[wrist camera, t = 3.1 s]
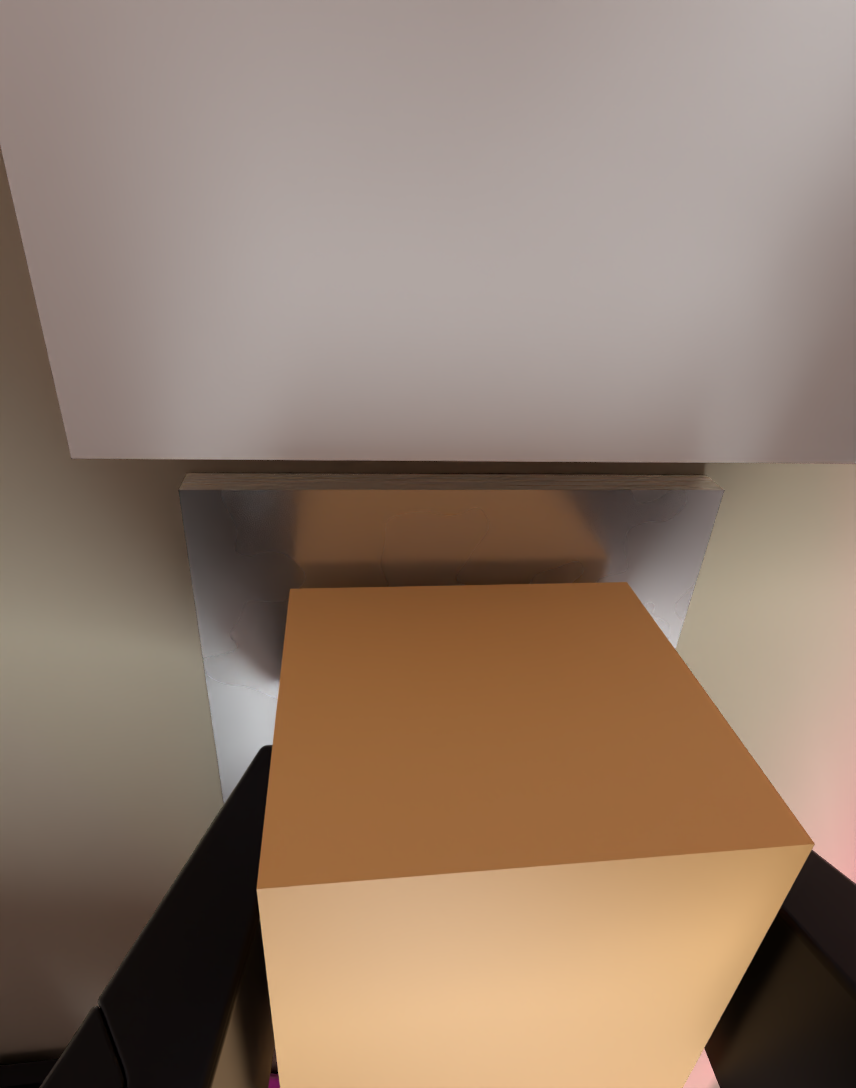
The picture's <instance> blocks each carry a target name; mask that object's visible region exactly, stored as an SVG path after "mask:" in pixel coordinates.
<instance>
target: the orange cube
mask: <svg viewBox="0 0 856 1088" xmlns="http://www.w3.org/2000/svg"><path fill="white" fill-rule="evenodd" d="M813 846H814V842H813V841H812V839H811V838H810V837H809V835H808V834H807V832H806V831H805V830H804V828H803V827H802V826H801V824H800V823H799V821H798V820H797V819H796V817H795V816H794V814H793V813H792V812H791V810H790V809H789V807H788V806H787V805H786V803H785V802H784V800H783V799H782V798H781V796H780V795H779V793H778V792H777V791H776V789H775V788H774V786H773V785H772V784H771V782H770V781H769V780H768V778H767V777H766V775H765V774H764V773H763V771H762V770H761V768H760V767H759V766H758V764H757V763H756V761H755V760H754V759H753V757H752V756H751V754H750V753H749V752H748V750H747V749H746V747H745V746H744V745H743V743H742V742H741V740H740V739H739V738H738V736H737V735H736V733H735V732H734V731H733V729H732V728H731V727H730V725H729V724H728V722H727V721H726V720H725V718H724V717H723V715H722V714H721V713H720V711H719V710H718V708H717V707H716V706H715V704H714V703H713V701H712V700H711V699H710V697H709V696H708V694H707V693H706V692H705V690H704V689H703V687H702V686H701V685H700V683H699V682H698V681H697V679H696V678H695V676H694V675H693V674H692V672H691V671H690V669H689V668H688V667H687V665H686V664H685V662H684V661H683V660H682V658H681V657H680V655H679V654H678V653H677V651H676V650H675V648H674V647H673V646H672V644H671V643H670V641H669V640H668V639H667V637H666V636H665V635H664V633H663V632H662V630H661V629H660V628H659V626H658V625H657V623H656V622H655V621H654V619H653V618H652V616H651V615H650V614H649V612H648V611H647V609H646V608H645V607H644V605H643V604H642V602H641V601H640V600H639V598H638V597H637V595H636V594H635V593H634V591H633V590H632V588H631V587H630V586H629V584H628V583H627V582H605V583H555V584H505V585H454V586H404V587H353V588H303V589H290V593H289V602H288V611H287V620H286V629H285V638H284V647H283V656H282V665H281V674H280V683H279V692H278V701H277V710H276V719H275V728H274V737H273V746H272V755H271V764H270V773H269V782H268V791H267V800H266V809H265V818H264V827H263V836H262V845H261V854H260V863H259V872H258V881H257V897H258V906H259V914H260V922H261V931H262V939H263V948H264V956H265V964H266V973H267V981H268V990H269V998H270V1007H271V1015H272V1023H273V1032H274V1040H275V1049H276V1057H277V1066H278V1074H279V1082H280V1088H683V1086H684V1084H685V1082H686V1081H687V1079H688V1077H689V1075H690V1073H691V1071H692V1070H693V1068H694V1066H695V1064H696V1062H697V1060H698V1058H699V1057H700V1055H701V1053H702V1051H703V1049H704V1047H705V1046H706V1044H707V1042H708V1040H709V1038H710V1036H711V1034H712V1033H713V1031H714V1029H715V1027H716V1025H717V1023H718V1022H719V1020H720V1018H721V1016H722V1014H723V1012H724V1011H725V1009H726V1007H727V1005H728V1003H729V1001H730V999H731V998H732V996H733V994H734V992H735V990H736V988H737V987H738V985H739V983H740V981H741V979H742V977H743V975H744V974H745V972H746V970H747V968H748V966H749V964H750V963H751V961H752V959H753V957H754V955H755V953H756V951H757V950H758V948H759V946H760V944H761V942H762V940H763V939H764V937H765V935H766V933H767V931H768V929H769V927H770V926H771V924H772V922H773V920H774V918H775V916H776V915H777V913H778V911H779V909H780V907H781V905H782V904H783V902H784V900H785V898H786V896H787V894H788V892H789V891H790V889H791V887H792V885H793V883H794V881H795V880H796V878H797V876H798V874H799V872H800V870H801V868H802V867H803V865H804V863H805V861H806V859H807V857H808V856H809V854H810V852H811V850H812V848H813Z"/></svg>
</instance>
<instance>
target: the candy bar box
mask: <svg viewBox="0 0 856 1088" xmlns="http://www.w3.org/2000/svg"><path fill="white" fill-rule="evenodd" d="M268 1088H280V1082H279V1074H272V1073H270V1079H269V1086H268Z"/></svg>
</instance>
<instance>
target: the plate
mask: <svg viewBox="0 0 856 1088" xmlns="http://www.w3.org/2000/svg"><path fill="white" fill-rule="evenodd" d="M723 493H724V489H723V488H721V487H720V486H719V485H718V484H716V483H715V482H714V481H713V480H711V479H710V478H709V477H708V476H707V475H542V474H272V473H187V474H186V476H185V478H184V480H183V482H182V484H181V486H180V488H179V497H180V504H181V511H182V518H183V525H184V532H185V539H186V545H187V552H188V559H189V566H190V573H191V580H192V587H193V594H194V601H195V608H196V615H197V622H198V629H199V636H200V642H201V649H202V656H203V663H204V670H205V677H206V684H207V691H208V698H209V705H210V712H211V719H212V726H213V733H214V739H215V746H216V753H217V760H218V767H219V774H220V781H221V788H222V795H223V802H224V803H225V802H226V800H227V799H228V797H229V796H230V794H231V793H232V791H233V790H234V788H235V786H236V785H237V783H238V782H239V780H240V779H241V777H242V776H243V774H244V773H245V771H246V769H247V768H248V766H249V765H250V763H251V762H252V760H253V759H254V757H255V755H256V754H257V752H258V751H259V750H260V748H261V747H263V746H265V745H273V737H274V728H275V719H276V710H277V701H278V692H279V683H280V674H281V665H282V656H283V647H284V638H285V629H286V620H287V611H288V602H289V593H290V589H303V588H353V587H404V586H454V585H505V584H555V583H605V582H627V583H628V584H629V586H630V587H631V588H632V590H633V591H634V593H635V594H636V595H637V597H638V598H639V600H640V601H641V602H642V604H643V605H644V607H645V608H646V609H647V611H648V612H649V614H650V615H651V616H652V618H653V619H654V621H655V622H656V623H657V625H658V626H659V628H660V629H661V630H662V632H663V633H664V635H665V636H666V637H667V639H668V640H669V641H670V643H671V644H672V646H673V647H674V648H675V649H676V646H677V642H678V639H679V636H680V633H681V629H682V626H683V623H684V620H685V617H686V613H687V610H688V607H689V604H690V600H691V597H692V594H693V591H694V587H695V584H696V581H697V578H698V574H699V571H700V568H701V565H702V561H703V558H704V555H705V552H706V548H707V545H708V542H709V539H710V536H711V532H712V529H713V526H714V523H715V519H716V516H717V513H718V510H719V506H720V503H721V500H722V497H723Z"/></svg>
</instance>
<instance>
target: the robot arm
mask: <svg viewBox="0 0 856 1088" xmlns="http://www.w3.org/2000/svg"><path fill="white" fill-rule="evenodd" d="M272 746H273V745H265V746H263V747H261V748H260V750H259V751H258V752H257V754H256V755H255V757H254V759H253V760H252V762H251V763H250V765H249V766H248V768H247V769H246V771H245V773H244V774H243V776H242V777H241V779H240V780H239V782H238V783H237V785H236V786H235V788H234V790H233V791H232V793H231V794H230V796H229V797H228V799H227V800H226V802H225V803H224V805H223V807H222V808H221V810H220V811H219V813H218V814H217V816H216V817H215V819H214V821H213V822H212V824H211V825H210V827H209V828H208V830H207V831H206V833H205V834H204V836H203V838H202V839H201V841H200V842H199V844H198V845H197V847H196V848H195V850H194V852H193V853H192V855H191V856H190V858H189V859H188V861H187V862H186V864H185V865H184V867H183V869H182V870H181V872H180V873H179V875H178V876H177V878H176V879H175V881H174V883H173V884H172V886H171V887H170V889H169V890H168V892H167V893H166V895H165V896H164V898H163V900H162V901H161V903H160V904H159V906H158V907H157V909H156V910H155V912H154V913H153V915H152V917H151V918H150V920H149V921H148V923H147V924H146V926H145V927H144V929H143V931H142V932H141V934H140V935H139V937H138V938H137V940H136V941H135V943H134V944H133V946H132V948H131V949H130V951H129V952H128V954H127V955H126V957H125V958H124V960H123V962H122V963H121V965H120V966H119V968H118V969H117V971H116V972H115V974H114V975H113V977H112V979H111V980H110V982H109V983H108V985H107V986H106V988H105V989H104V991H103V992H102V994H101V996H100V997H99V999H98V1004H99V1007H100V1008H99V1007H98V1006H96V1007H93V1008H92V1009H91V1010H90V1012H89V1014H88V1015H87V1017H86V1018H85V1020H84V1021H83V1023H82V1024H81V1026H80V1028H79V1029H78V1031H77V1032H76V1034H75V1035H74V1037H73V1038H72V1040H71V1042H70V1043H69V1045H68V1046H67V1048H66V1049H65V1051H64V1052H63V1054H62V1055H61V1057H60V1058H59V1059H55V1060H46V1061H37V1062H28V1063H19V1064H10V1065H1V1066H0V1088H268V1086H269V1079H270V1073H271V1066H272V1059H273V1052H274V1045H275V1040H274V1032H273V1023H272V1015H271V1007H270V998H269V990H268V981H267V973H266V964H265V956H264V948H263V939H262V931H261V922H260V914H259V906H258V897H257V881H258V872H259V863H260V854H261V845H262V836H263V827H264V818H265V809H266V800H267V791H268V782H269V773H270V764H271V755H272ZM704 1048H705V1051H706V1053H707V1056H708V1058H709V1061H710V1064H711V1066H712V1069H713V1071H714V1074H715V1076H716V1079H717V1081H718V1084H719V1086H720V1088H856V884H855V883H854V882H853V881H851V880H850V879H849V878H848V877H846V876H845V875H844V874H842V873H841V872H840V871H839V870H837V869H836V868H835V867H834V866H832V865H831V864H830V863H828V862H827V861H826V860H825V859H823V858H822V857H821V856H819V855H818V854H817V853H816V852H814V851H813V850H811V852H810V854H809V856H808V857H807V859H806V861H805V863H804V865H803V867H802V868H801V870H800V872H799V874H798V876H797V878H796V880H795V881H794V883H793V885H792V887H791V889H790V891H789V892H788V894H787V896H786V898H785V900H784V902H783V904H782V905H781V907H780V909H779V911H778V913H777V915H776V916H775V918H774V920H773V922H772V924H771V926H770V927H769V929H768V931H767V933H766V935H765V937H764V939H763V940H762V942H761V944H760V946H759V948H758V950H757V951H756V953H755V955H754V957H753V959H752V961H751V963H750V964H749V966H748V968H747V970H746V972H745V974H744V975H743V977H742V979H741V981H740V983H739V985H738V987H737V988H736V990H735V992H734V994H733V996H732V998H731V999H730V1001H729V1003H728V1005H727V1007H726V1009H725V1011H724V1012H723V1014H722V1016H721V1018H720V1020H719V1022H718V1023H717V1025H716V1027H715V1029H714V1031H713V1033H712V1034H711V1036H710V1038H709V1040H708V1042H707V1044H706V1046H705V1047H704Z"/></svg>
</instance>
